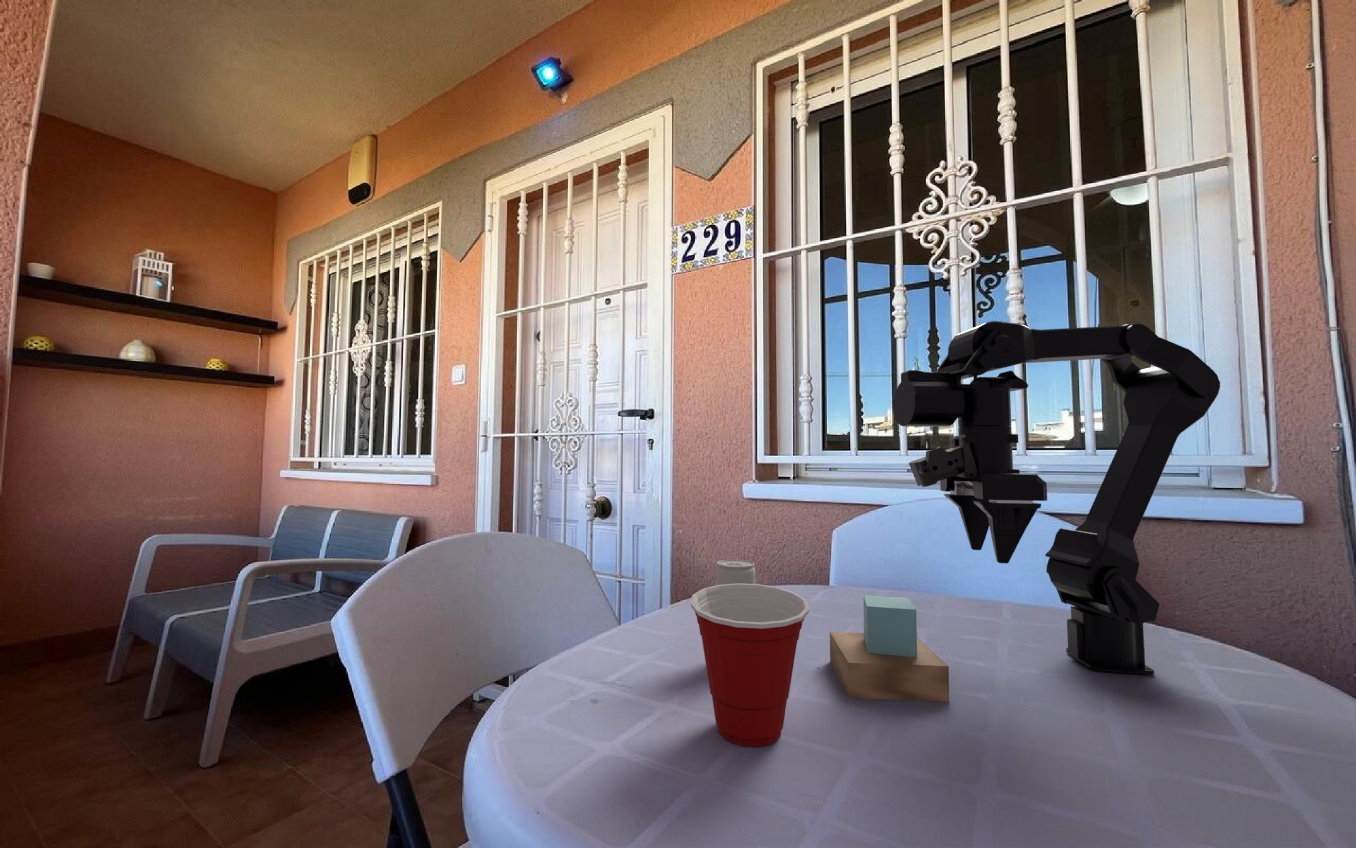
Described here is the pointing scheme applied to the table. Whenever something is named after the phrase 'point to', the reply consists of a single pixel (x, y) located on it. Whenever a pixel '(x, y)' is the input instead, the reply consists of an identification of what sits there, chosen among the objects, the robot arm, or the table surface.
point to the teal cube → (890, 626)
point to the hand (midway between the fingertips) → (988, 556)
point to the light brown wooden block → (887, 671)
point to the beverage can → (735, 572)
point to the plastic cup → (749, 656)
